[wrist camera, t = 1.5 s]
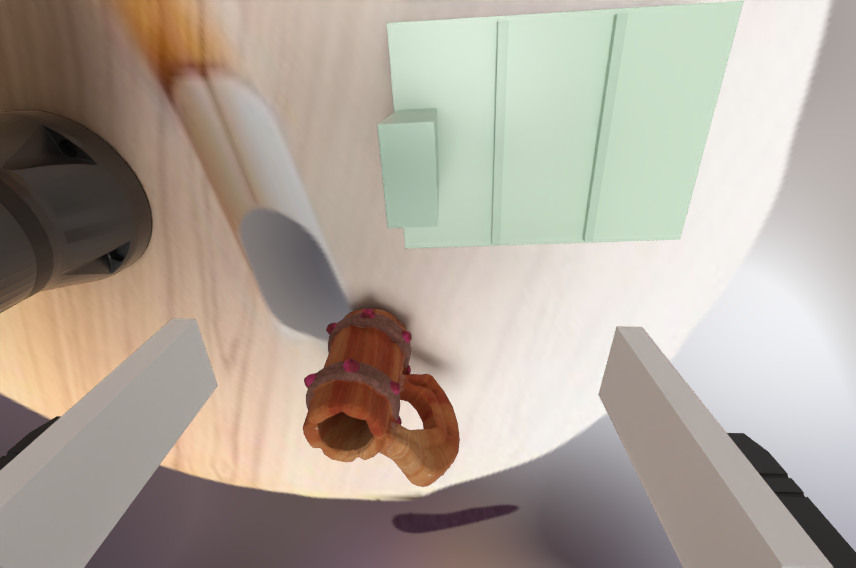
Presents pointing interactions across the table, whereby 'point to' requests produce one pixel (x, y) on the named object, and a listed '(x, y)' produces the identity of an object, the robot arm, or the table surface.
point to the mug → (378, 400)
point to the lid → (551, 124)
